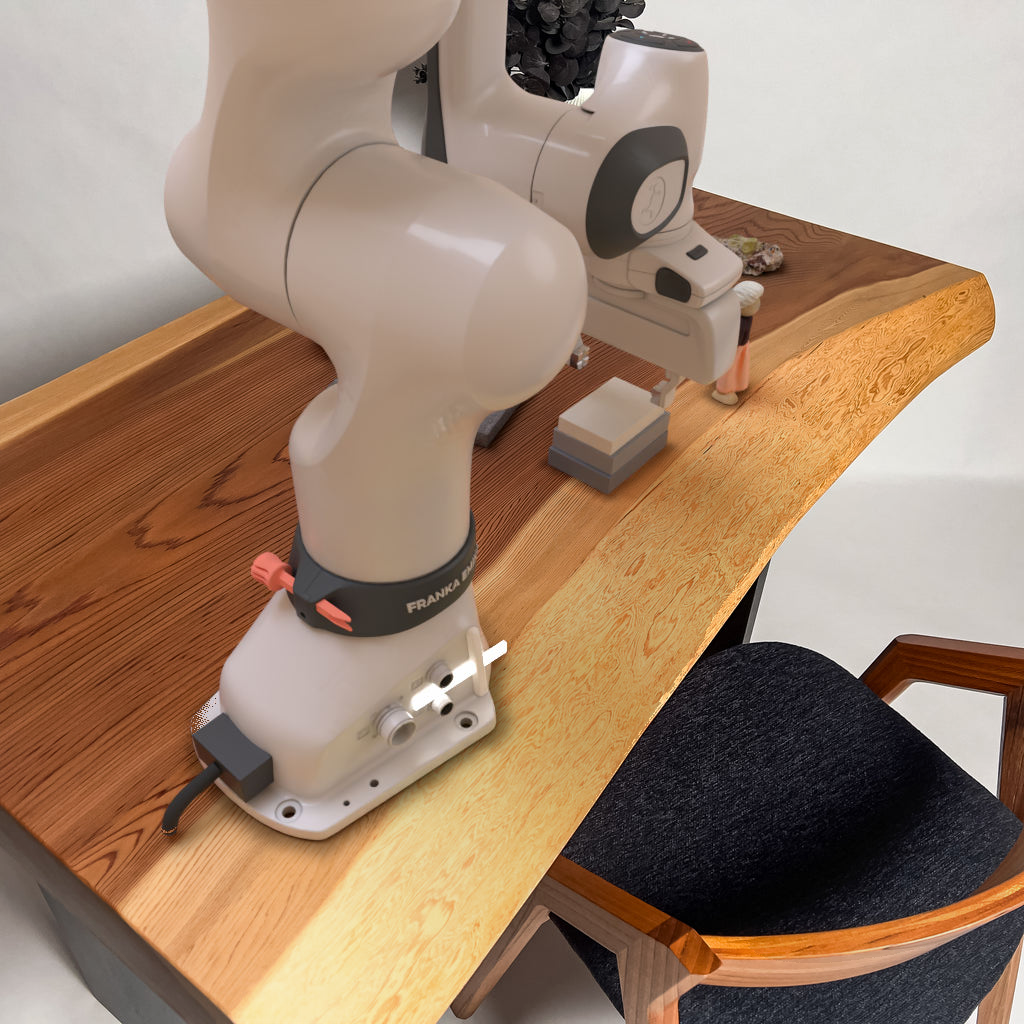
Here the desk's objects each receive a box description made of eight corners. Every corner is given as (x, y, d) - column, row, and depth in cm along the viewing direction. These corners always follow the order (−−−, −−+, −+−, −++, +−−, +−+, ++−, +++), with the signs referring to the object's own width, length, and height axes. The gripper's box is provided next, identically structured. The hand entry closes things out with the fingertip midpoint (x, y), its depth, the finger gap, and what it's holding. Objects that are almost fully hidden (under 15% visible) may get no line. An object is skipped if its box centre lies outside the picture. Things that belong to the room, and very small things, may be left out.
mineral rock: (793, 239, 126) (782, 246, 119) (785, 272, 127) (774, 281, 121) (713, 224, 129) (698, 230, 122) (707, 257, 131) (691, 265, 124)
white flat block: (610, 456, 86) (612, 442, 85) (557, 430, 89) (558, 415, 88) (664, 413, 92) (666, 399, 91) (612, 389, 95) (614, 375, 93)
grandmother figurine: (745, 412, 99) (771, 302, 91) (708, 407, 100) (730, 297, 91) (746, 373, 105) (770, 266, 97) (711, 368, 105) (732, 261, 97)
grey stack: (607, 495, 88) (611, 461, 86) (547, 464, 92) (549, 430, 89) (665, 446, 94) (671, 413, 92) (607, 418, 98) (611, 385, 95)
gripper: (512, 218, 82) (509, 357, 91) (721, 298, 72) (694, 443, 82) (557, 195, 86) (549, 330, 95) (762, 268, 76) (731, 410, 85)
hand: (618, 383), depth 88 cm, fingers open, 8 cm apart
